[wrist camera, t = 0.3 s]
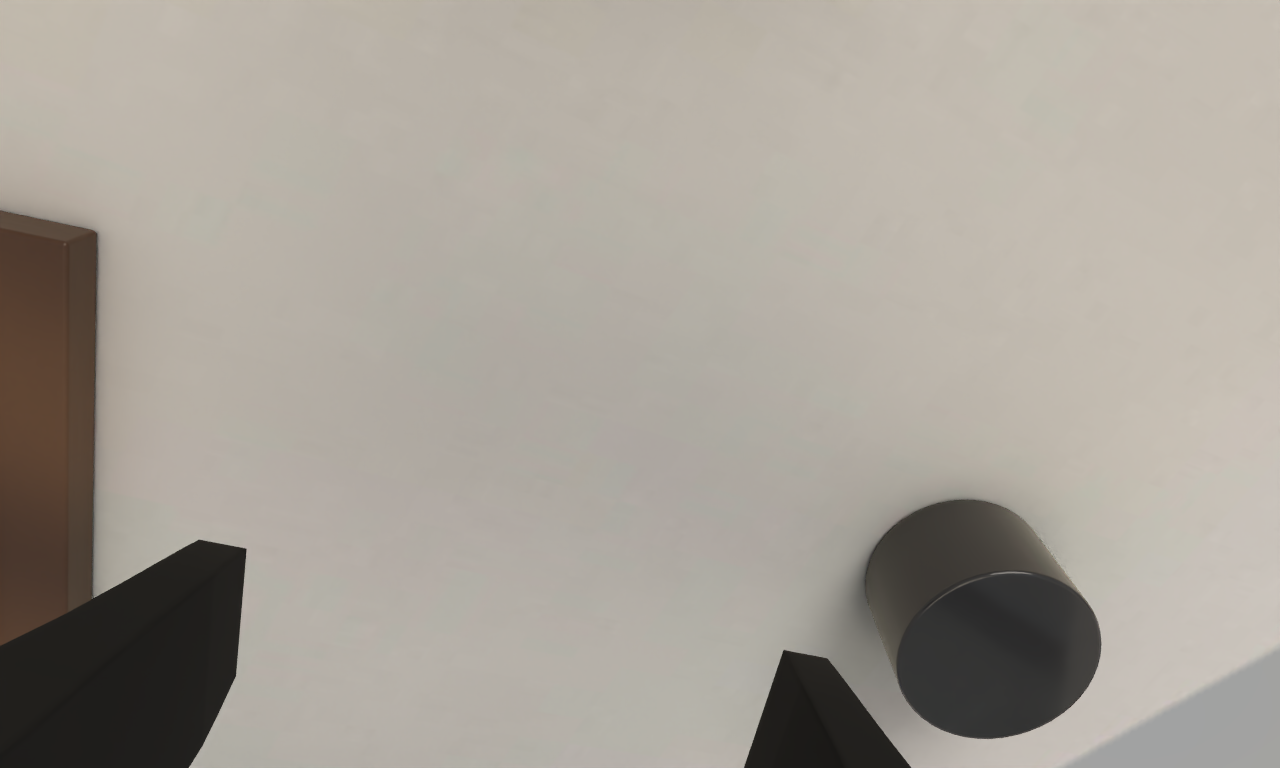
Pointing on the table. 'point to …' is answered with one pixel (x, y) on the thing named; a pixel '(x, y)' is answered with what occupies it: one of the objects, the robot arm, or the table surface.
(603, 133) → the table surface
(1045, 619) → the dark grey cylinder
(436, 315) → the table surface
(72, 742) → the robot arm
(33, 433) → the board
